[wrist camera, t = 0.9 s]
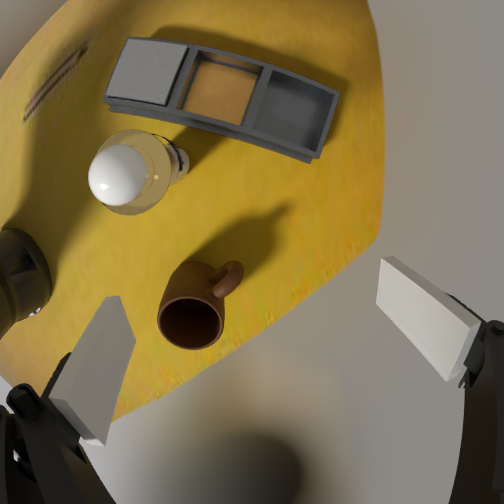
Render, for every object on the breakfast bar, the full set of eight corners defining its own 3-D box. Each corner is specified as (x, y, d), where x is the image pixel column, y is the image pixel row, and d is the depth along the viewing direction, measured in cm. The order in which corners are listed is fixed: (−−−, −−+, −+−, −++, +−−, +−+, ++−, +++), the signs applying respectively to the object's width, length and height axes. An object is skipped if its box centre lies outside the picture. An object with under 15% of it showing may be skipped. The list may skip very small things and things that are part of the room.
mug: (216, 224, 34) (214, 249, 25) (258, 262, 36) (269, 297, 28) (158, 286, 36) (142, 324, 27) (199, 318, 39) (195, 361, 30)
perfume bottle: (170, 196, 32) (107, 251, 13) (140, 163, 30) (47, 180, 12) (204, 165, 31) (179, 178, 13) (174, 131, 29) (110, 101, 11)
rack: (112, 111, 27) (95, 105, 22) (138, 43, 24) (126, 29, 19) (307, 163, 32) (321, 165, 28) (329, 95, 30) (346, 87, 25)
